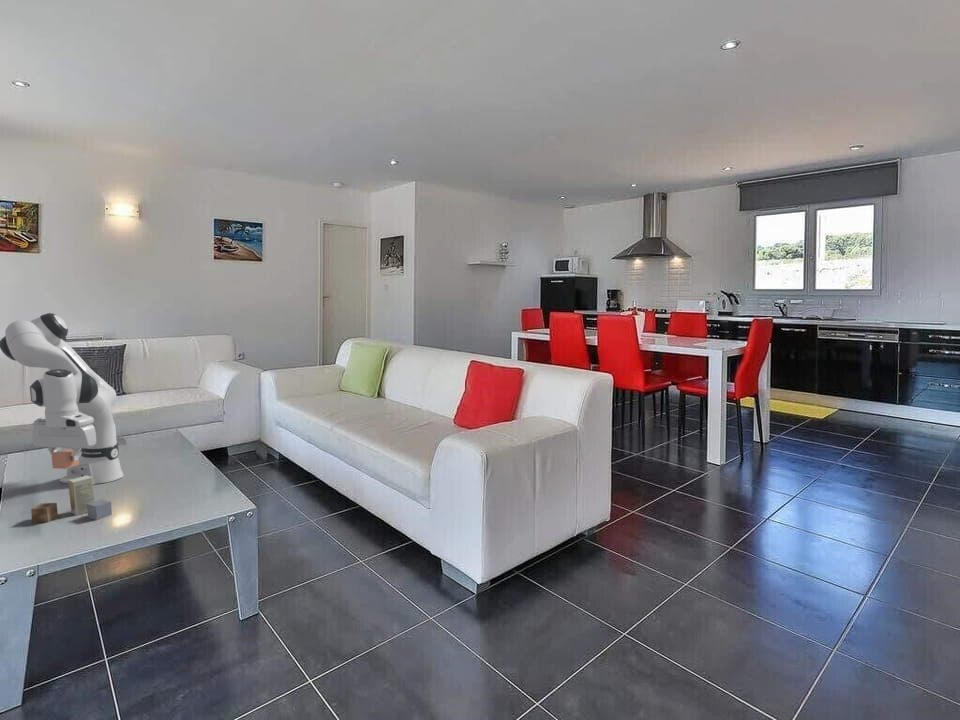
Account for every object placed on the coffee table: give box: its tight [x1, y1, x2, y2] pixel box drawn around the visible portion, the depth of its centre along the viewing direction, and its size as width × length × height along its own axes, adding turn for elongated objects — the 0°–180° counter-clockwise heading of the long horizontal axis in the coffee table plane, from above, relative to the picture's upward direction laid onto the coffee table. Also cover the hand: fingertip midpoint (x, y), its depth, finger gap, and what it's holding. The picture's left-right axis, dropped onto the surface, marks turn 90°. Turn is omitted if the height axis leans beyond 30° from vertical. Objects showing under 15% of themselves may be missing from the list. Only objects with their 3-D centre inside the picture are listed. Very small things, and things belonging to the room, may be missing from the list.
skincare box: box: [67, 475, 96, 516], centre depth 195 cm, size 6×4×12 cm
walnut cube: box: [30, 502, 59, 524], centre depth 189 cm, size 5×5×5 cm
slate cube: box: [86, 498, 113, 521], centre depth 192 cm, size 5×5×5 cm
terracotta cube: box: [50, 448, 79, 470], centre depth 183 cm, size 5×5×5 cm
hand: (65, 459), depth 183 cm, fingers closed on terracotta cube, 5 cm apart
